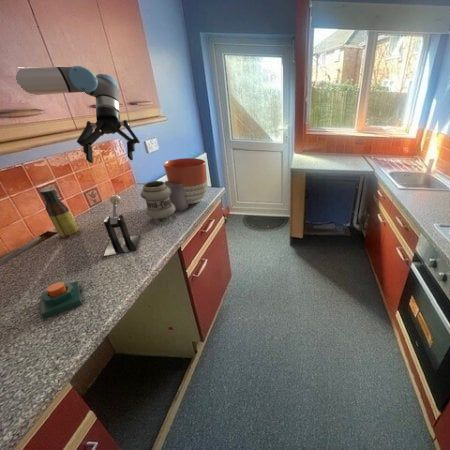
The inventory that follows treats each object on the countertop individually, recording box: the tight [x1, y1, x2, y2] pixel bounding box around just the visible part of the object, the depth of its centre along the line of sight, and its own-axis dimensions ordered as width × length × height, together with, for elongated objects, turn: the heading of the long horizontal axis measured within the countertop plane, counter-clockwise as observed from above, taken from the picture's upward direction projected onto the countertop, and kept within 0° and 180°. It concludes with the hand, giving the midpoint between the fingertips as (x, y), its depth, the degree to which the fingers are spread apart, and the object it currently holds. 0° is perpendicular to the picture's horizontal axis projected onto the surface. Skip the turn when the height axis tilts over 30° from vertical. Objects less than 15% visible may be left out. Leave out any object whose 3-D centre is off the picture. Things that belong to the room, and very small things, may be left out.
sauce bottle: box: [39, 187, 80, 239], centre depth 96 cm, size 6×6×20 cm
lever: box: [109, 194, 122, 229], centre depth 93 cm, size 14×4×4 cm, turn 24°
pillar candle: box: [163, 180, 190, 212], centre depth 125 cm, size 10×10×15 cm
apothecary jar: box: [140, 180, 176, 223], centre depth 111 cm, size 12×12×18 cm
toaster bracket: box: [103, 214, 141, 257], centre depth 92 cm, size 12×10×13 cm
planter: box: [162, 157, 208, 205], centre depth 130 cm, size 20×20×21 cm
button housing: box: [39, 280, 83, 320], centre depth 70 cm, size 10×8×4 cm
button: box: [45, 281, 67, 297], centre depth 68 cm, size 4×4×2 cm
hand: (110, 159), depth 95 cm, fingers open, 13 cm apart
